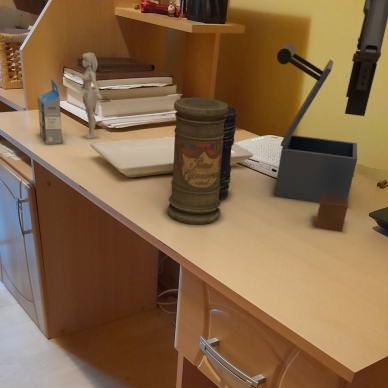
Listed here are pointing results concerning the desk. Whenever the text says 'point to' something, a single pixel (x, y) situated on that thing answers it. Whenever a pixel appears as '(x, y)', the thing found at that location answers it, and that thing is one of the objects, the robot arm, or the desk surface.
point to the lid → (287, 56)
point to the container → (197, 160)
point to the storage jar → (227, 152)
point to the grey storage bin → (315, 168)
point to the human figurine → (90, 90)
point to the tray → (150, 155)
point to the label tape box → (50, 116)
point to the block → (331, 212)
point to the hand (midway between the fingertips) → (354, 105)
